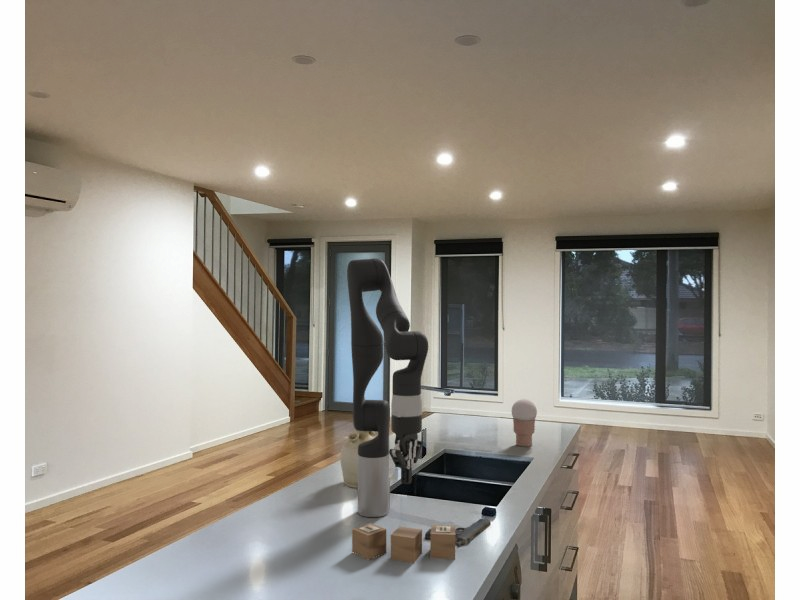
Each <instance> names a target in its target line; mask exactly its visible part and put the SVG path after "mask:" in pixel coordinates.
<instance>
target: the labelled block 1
mask: <svg viewBox="0 0 800 600" xmlns="http://www.w3.org/2000/svg"><path fill="white" fill-rule="evenodd" d="M351 532H352V533H351V534H352V535H351V540H352V541H351V547H352V549H351V553H352V552H354V553H356V554H358V555H360V556H362V557H364V558H363V559H365V558H367V559H370V558H372V559H374V558H373V557H375V558H377V557H379V556H378V555H380V556H382V555H385V554H387V528H384V527H382V526H379V525H376V524H374V523H371V522H369V523H366V524H362V525H360V526H357V527H354V528H352V529H351ZM354 553H353V554H354ZM384 553H385V554H384ZM356 554H355V555H356ZM381 554H382V555H381ZM358 555H357V556H358ZM360 556H359V557H360ZM376 556H377V557H376ZM362 557H361V558H362ZM367 559H366V560H367ZM370 560H371V559H370Z"/></svg>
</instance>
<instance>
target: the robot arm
mask: <svg viewBox="0 0 800 600" xmlns="http://www.w3.org/2000/svg"><path fill="white" fill-rule="evenodd" d="M346 280H347V288H348V289H347V290H348V299H349V308H350V337H351V339H350V340H351V341H350V346H351V349H350V350H351V361H352V363H351V364H352V379H353V380H352V381H353V387H352V388H353V389H352V391H353V393H352V394H353V395H352V425H353V424H354V427H355V429H356V430H358V431H374V433H376V432H377V435H376V436H374V437H375V438H373V439H371V440H369V441H365V442H363V443H361V444H359V446H358V488H357V514H358V515H360V516H362V517H366V518H378V517H380V518H381V517H384V516H387V515H388V514H389V512H390V509H391V478H390V477H389V476H390V461H389V460H390V457H391V460H392V461H393V464H394V466H395V467H396V468H399V469H400V482H401V484H402V485H403V484H404V485H409V484H411V483H412V482H413V481H412V480H413V478H412V477H413V476H412V471H413V467H414V464H417V462H418V460H419V456H420V454H421V451H422V447H423V445H424V444H423V441H422V440H419V435H418V434H419V433H421V432H422V430H423V427H422V426H423V422H422V420H423V417H422V416H423V401H422V376H423V375H422V374H423V371H424V367H425V362H426V359H427V356H428V352H429V340H428V337H427V336H426V335H425V333H423V332H422V331H418V330H416V331H415V330H414V331H411V330H410V327H411V324H410V321H409V319H408V316H407V315H406V313H405V311H404V310H403V308H402V306H401V304H400V301H399V299H398V297H397V293H396V290H395V288H394V283H393V281H392V278H391V274H390V271H389V269H388V267H387V265H386V263H385V262H384V260H383V259H380V258H365V259H352V260H350V261H349V262H348V264H347V270H346ZM377 291H380V292H381V293H380V296H379V298H378V301H377V304H376V307H375V316H376V319H377V321H378V323H379V325H380V327H381V328H379V326H378V324H377V323H376V322H375V320H374V319H373V318H372V316H371V315H370V313H369V311H368V310H367V308H366V306H365V303H364V299H363V293H364V292H365V293H367V292H377ZM381 329H382V330H383V333H382V331H381ZM409 330H410V331H409ZM383 335H384V337H383ZM383 338H384V339H383ZM384 346H385V353H386V355H387V356H388V357H389V358H390V359H392V360H394V361H409V362H408V364H407V365H406V367H404V368H400V369H398V370H395V371H394V372H393V373H392V385H391V386H392V394H391V395H392V396H391V403H390V404H391V405H390V404H389V401H387V400H385V399H365V394H366V391H367V388H368V386H369V384H370V382H371V380H372V378H373V377H374V375H375V373H376V372H377V371H378V369H379V367H380V366H381V364H382V363H383V359H384ZM390 419H391V420H390ZM390 422H391V425H390ZM390 426H391V427H390ZM354 427H353V428H354ZM390 428H391V431H392V433H394V434H395V438H394V447H393V448H390ZM355 429H354V430H355ZM356 430H355V431H356ZM389 456H390V457H389Z"/></svg>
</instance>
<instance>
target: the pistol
mask: <svg viewBox="0 0 800 600" xmlns="http://www.w3.org/2000/svg"><path fill="white" fill-rule="evenodd" d="M490 525H491V520H490V519H489V518H486V517H485V518H479V519H478V520H477V521H475V522H473V523H472V524H470V525H469V526H467V527H462V526H461V527H457V528H455V544H457V546H458V547H460V546H461V545H467V544H470V543H471V541H472V540H473V539H474V538H476V537H477V536H478V535H479V534H480V533H482V532H483V531H484V530H486V529H487V528H488V527H489V526H490ZM430 537H431V528H429V529H427V531H426V532H425V533H424V538H425V539H426V540H430Z"/></svg>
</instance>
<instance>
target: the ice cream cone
mask: <svg viewBox="0 0 800 600" xmlns="http://www.w3.org/2000/svg"><path fill="white" fill-rule="evenodd" d="M511 415H512V422H513V433H515V437H516V438H515V444H516V446H518V447H531V446H533V435H534V433H535V430H536V429H535V427H536V426H535V424H536V418H537V415H538V410H537V407H536V405H535V403H534V402H533V401H532V400H529V399H527V398H521V399H518V400H516V401H515V402H514V403H513V405H512V407H511Z"/></svg>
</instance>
